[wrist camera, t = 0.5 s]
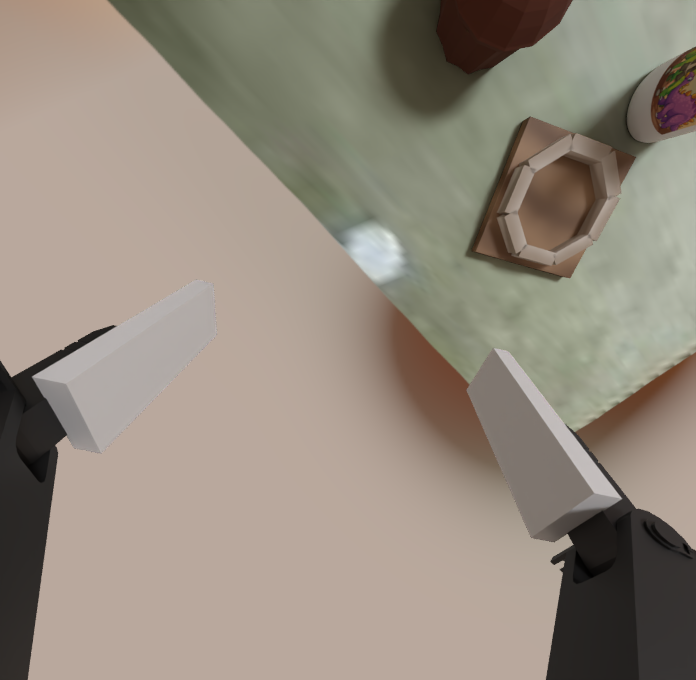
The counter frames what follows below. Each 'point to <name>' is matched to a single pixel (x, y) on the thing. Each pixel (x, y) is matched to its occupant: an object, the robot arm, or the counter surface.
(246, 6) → the counter surface
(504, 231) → the ring stand
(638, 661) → the robot arm
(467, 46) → the muffin
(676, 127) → the milk bottle
